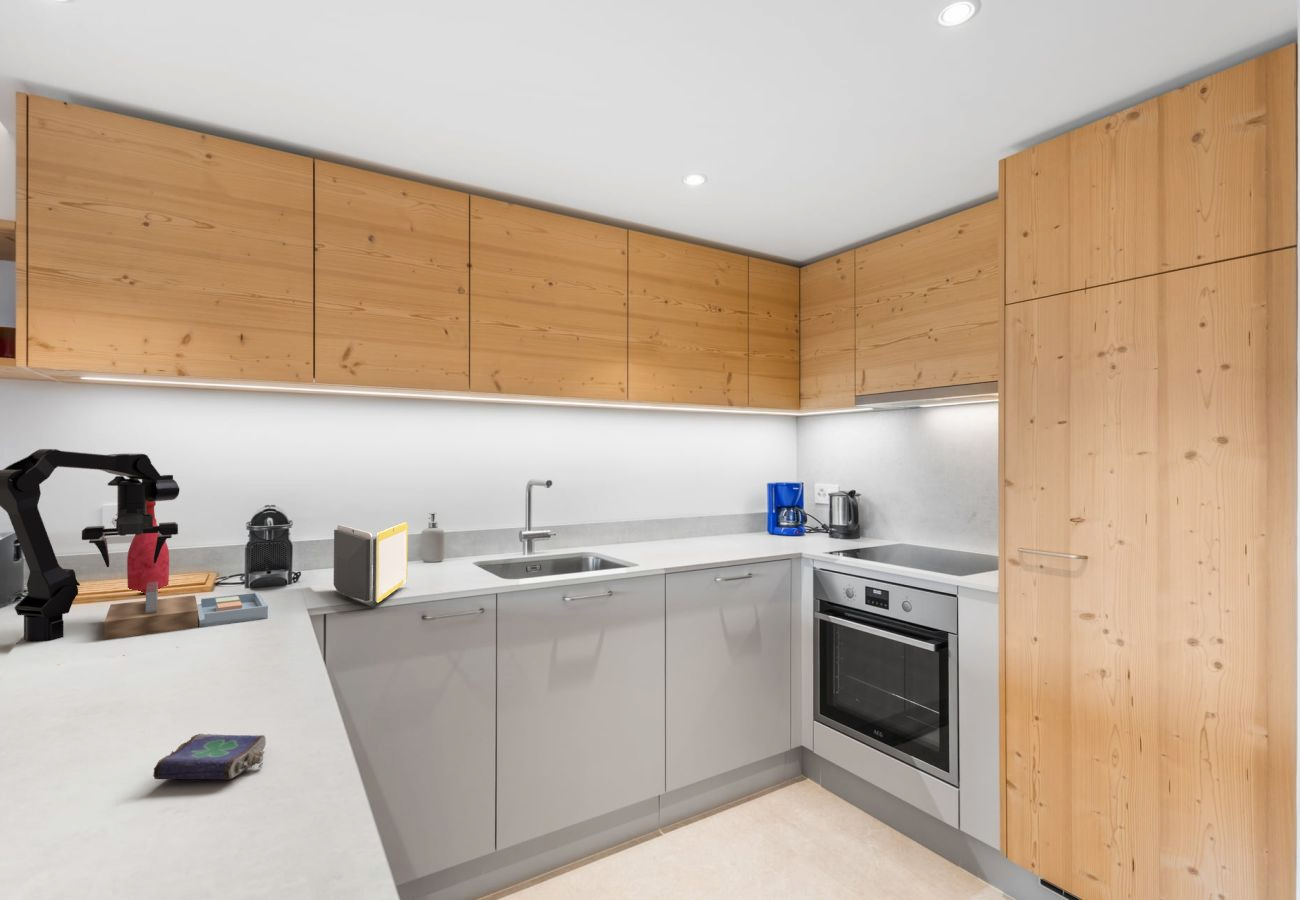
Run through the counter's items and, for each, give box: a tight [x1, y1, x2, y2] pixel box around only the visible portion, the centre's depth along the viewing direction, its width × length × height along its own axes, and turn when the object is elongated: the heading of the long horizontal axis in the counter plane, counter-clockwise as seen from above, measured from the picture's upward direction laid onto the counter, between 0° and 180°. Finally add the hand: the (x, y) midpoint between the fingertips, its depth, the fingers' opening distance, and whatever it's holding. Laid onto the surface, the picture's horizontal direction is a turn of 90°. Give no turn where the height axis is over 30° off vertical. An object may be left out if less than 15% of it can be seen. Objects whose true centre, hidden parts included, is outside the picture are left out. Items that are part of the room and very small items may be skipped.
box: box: [197, 591, 269, 628], centre depth 165 cm, size 14×20×3 cm
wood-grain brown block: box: [103, 595, 199, 641], centre depth 156 cm, size 17×20×4 cm
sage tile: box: [215, 596, 240, 612], centre depth 168 cm, size 5×5×2 cm
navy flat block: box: [152, 733, 267, 780], centre depth 84 cm, size 9×3×11 cm
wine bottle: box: [126, 500, 170, 595], centre depth 192 cm, size 10×10×30 cm
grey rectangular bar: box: [145, 582, 159, 614], centre depth 156 cm, size 2×14×5 cm, turn 36°
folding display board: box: [333, 521, 409, 603], centre depth 194 cm, size 35×22×20 cm, turn 43°
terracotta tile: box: [217, 601, 242, 611], centre depth 162 cm, size 5×5×2 cm
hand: (131, 565), depth 163 cm, fingers open, 9 cm apart
